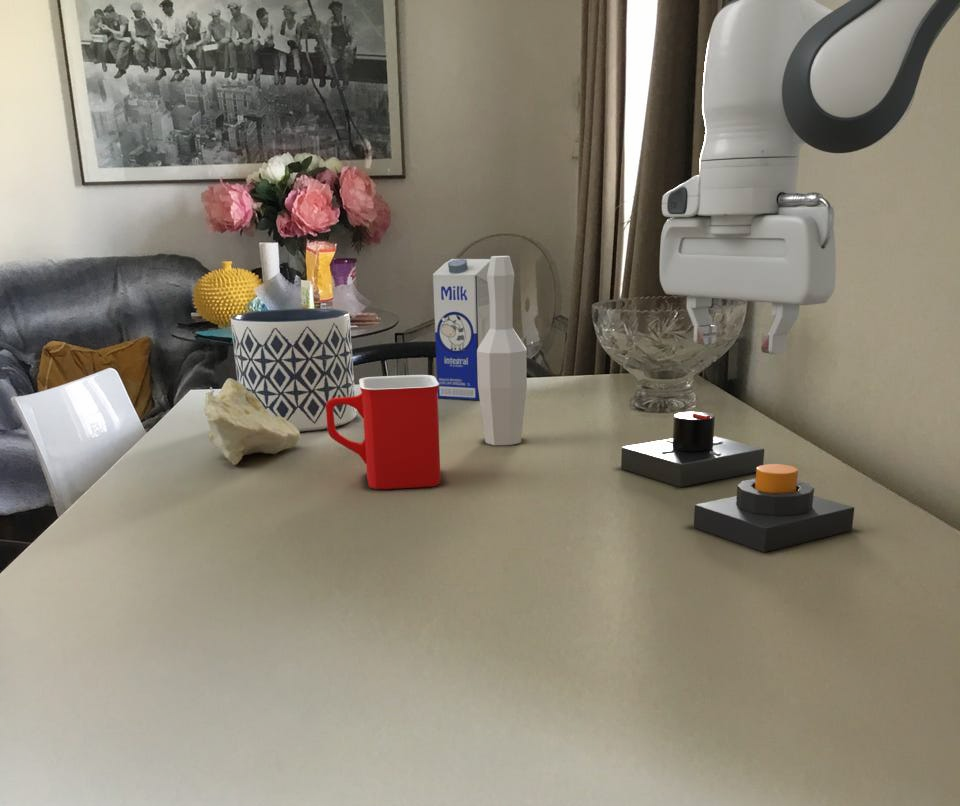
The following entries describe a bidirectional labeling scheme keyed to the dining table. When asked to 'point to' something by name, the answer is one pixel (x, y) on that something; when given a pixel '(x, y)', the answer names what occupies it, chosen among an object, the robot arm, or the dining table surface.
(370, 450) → the mug
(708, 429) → the temp dial
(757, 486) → the button
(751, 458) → the dial panel
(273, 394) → the planter
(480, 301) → the milk carton
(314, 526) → the dining table surface
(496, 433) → the low poly bottle
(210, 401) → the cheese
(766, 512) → the button base
